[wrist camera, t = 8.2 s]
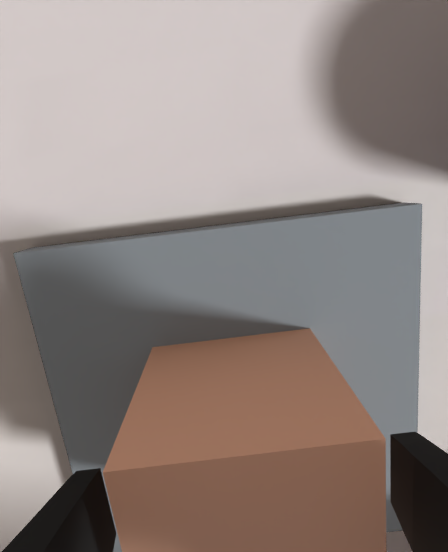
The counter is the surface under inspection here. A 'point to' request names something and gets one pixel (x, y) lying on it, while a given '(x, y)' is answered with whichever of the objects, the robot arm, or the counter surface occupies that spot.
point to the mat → (229, 311)
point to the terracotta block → (247, 452)
